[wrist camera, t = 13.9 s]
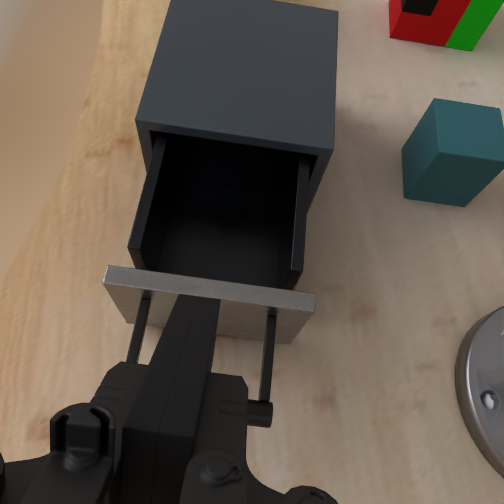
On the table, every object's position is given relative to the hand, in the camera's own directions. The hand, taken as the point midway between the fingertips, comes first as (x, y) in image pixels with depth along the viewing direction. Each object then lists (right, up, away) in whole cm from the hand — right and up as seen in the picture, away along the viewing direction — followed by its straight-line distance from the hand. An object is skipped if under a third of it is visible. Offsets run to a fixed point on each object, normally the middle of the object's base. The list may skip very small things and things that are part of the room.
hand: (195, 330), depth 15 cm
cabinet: (+1, +13, +26) cm, 30 cm away
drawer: (-1, 0, +19) cm, 19 cm away
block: (+20, +10, +27) cm, 35 cm away
